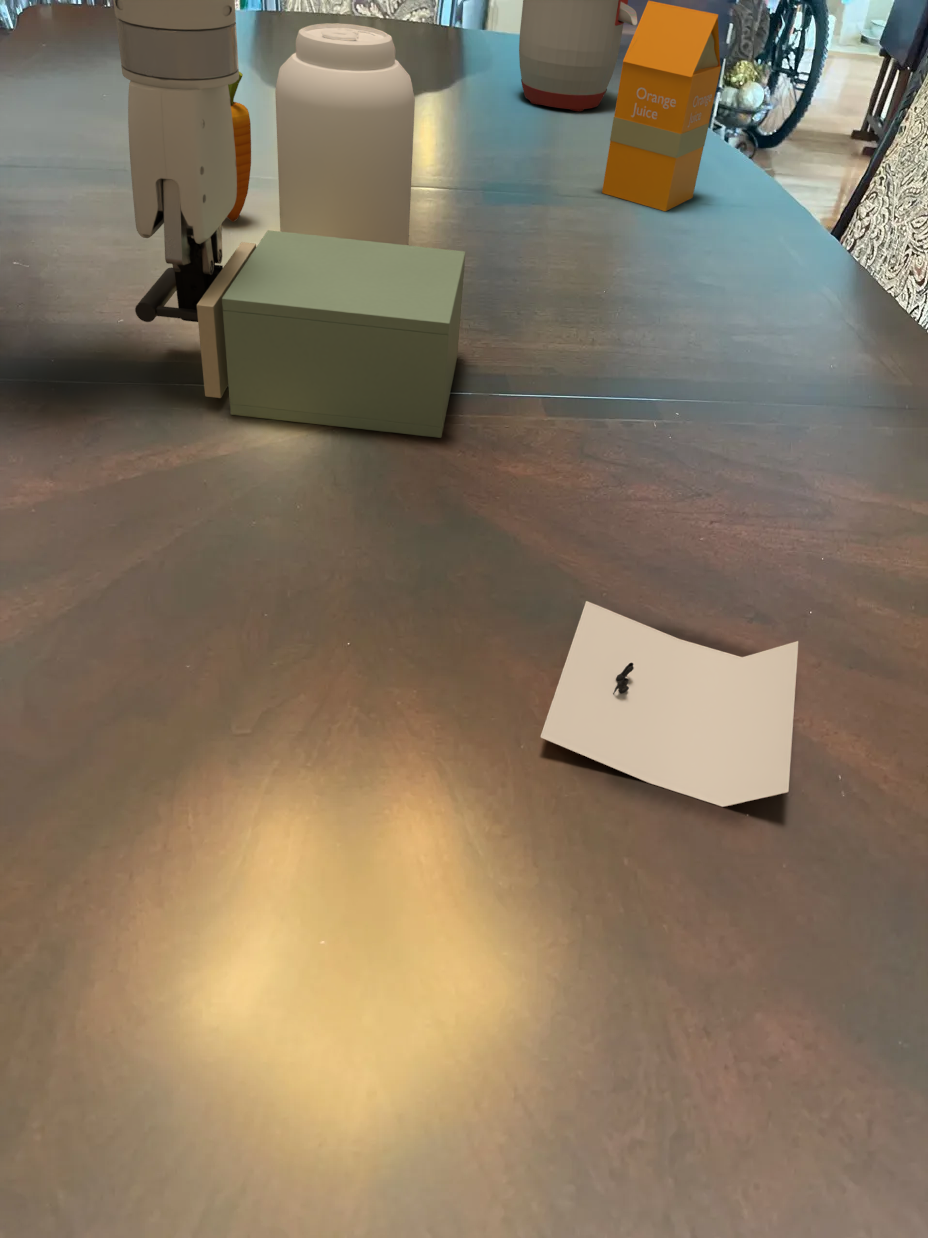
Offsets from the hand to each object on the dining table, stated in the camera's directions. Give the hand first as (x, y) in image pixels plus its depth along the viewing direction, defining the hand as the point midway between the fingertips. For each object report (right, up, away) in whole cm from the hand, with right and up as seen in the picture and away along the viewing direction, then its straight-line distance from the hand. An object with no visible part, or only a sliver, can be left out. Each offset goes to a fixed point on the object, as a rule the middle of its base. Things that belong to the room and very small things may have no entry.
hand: (203, 317), depth 78 cm
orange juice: (+43, +29, +46) cm, 69 cm away
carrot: (-4, +18, +28) cm, 34 cm away
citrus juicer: (+36, +56, +79) cm, 103 cm away
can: (+8, +12, +23) cm, 27 cm away
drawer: (+6, -3, +2) cm, 7 cm away
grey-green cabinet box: (+11, -4, +3) cm, 12 cm away
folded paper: (+31, -28, -23) cm, 48 cm away
